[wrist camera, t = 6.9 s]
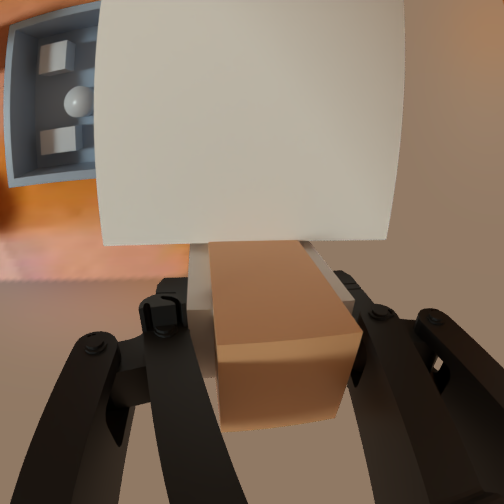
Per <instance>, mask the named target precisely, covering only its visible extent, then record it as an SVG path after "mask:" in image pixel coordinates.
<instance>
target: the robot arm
mask: <svg viewBox="0 0 504 504" xmlns="http://www.w3.org/2000/svg"><path fill="white" fill-rule="evenodd" d="M299 242H300V244H301V245H302V246H303V248H304V249H305V250H306V252H307V253H308V255H309V256H310V257H311V259H312V260H313V261H314V263H315V264H316V266H317V267H318V268H319V270H320V271H321V273H322V274H323V275H324V277H325V278H326V279H327V281H328V282H329V284H330V285H331V287H332V288H333V289H334V291H335V292H336V294H337V295H338V296H339V298H340V299H341V301H342V302H343V304H344V305H345V306H346V308H347V309H348V311H349V312H350V314H351V315H352V316H353V318H354V319H355V321H356V322H357V324H358V325H359V327H360V328H361V330H362V331H363V334H362V337H361V341H360V344H359V348H358V351H357V354H356V357H355V361H354V364H353V367H352V370H351V373H350V376H349V379H348V382H347V387H348V388H349V392H350V396H351V400H352V404H353V408H354V412H355V415H356V420H357V424H358V428H359V432H360V436H361V440H362V445H363V449H364V454H365V458H366V462H367V467H368V471H369V476H370V480H371V486H372V490H373V495H374V500H375V504H504V369H503V367H502V366H500V365H499V363H498V362H496V361H495V360H494V359H493V358H492V357H491V356H490V355H489V354H488V353H487V352H486V351H485V350H484V349H483V348H482V347H481V346H480V345H479V344H478V343H477V342H476V341H475V340H474V339H473V338H471V337H470V336H469V335H468V334H467V333H466V332H465V331H464V330H463V329H462V328H461V327H460V326H459V325H457V323H455V322H454V321H453V320H452V319H451V318H450V317H449V316H448V315H446V314H445V313H443V312H441V311H439V310H437V309H432V308H428V309H423V310H420V312H419V313H418V316H417V319H416V320H406V319H399V317H398V315H397V314H396V313H395V312H394V311H393V310H392V309H390V308H389V307H387V306H383V305H381V304H374V303H373V302H372V301H371V299H370V298H369V297H368V296H367V295H366V293H365V292H364V291H363V290H362V289H361V287H360V286H359V285H358V284H357V283H356V281H355V280H354V279H353V278H352V277H351V276H350V275H348V274H347V273H345V272H343V271H340V270H339V271H332V270H331V268H330V267H329V266H328V264H327V263H326V262H325V261H324V259H323V258H322V257H321V256H320V254H319V253H318V252H317V251H316V250H315V248H314V247H313V246H312V244H311V243H310V242H309V241H299ZM139 314H140V320H141V325H142V331H143V334H141V335H140V336H138V337H136V338H133V339H130V340H125V341H121V342H118V341H117V340H116V338H115V336H113V335H112V334H110V333H107V332H102V331H100V332H92V333H89V334H86V335H84V336H82V337H81V338H79V340H78V341H77V342H76V343H75V345H74V347H73V349H72V351H71V353H70V355H69V357H68V359H67V361H66V363H65V365H64V367H63V369H62V372H61V374H60V376H59V378H58V380H57V382H56V384H55V386H54V389H53V391H52V393H51V395H50V398H49V400H48V402H47V404H46V407H45V409H44V412H43V414H42V416H41V418H40V421H39V423H38V426H37V428H36V431H35V433H34V436H33V438H32V441H31V443H30V446H29V449H28V451H27V454H26V457H25V459H24V462H23V465H22V468H21V471H20V474H19V477H18V480H17V483H16V486H15V489H14V493H13V496H12V499H11V502H10V504H118V501H119V494H120V487H121V481H122V474H123V469H124V463H125V457H126V451H127V446H128V441H129V436H130V431H131V426H132V421H133V416H134V411H135V406H136V405H140V404H144V403H148V402H151V409H152V415H153V422H154V428H155V435H156V440H157V446H158V451H159V456H160V461H161V467H162V472H163V476H164V481H165V486H166V490H167V494H168V498H169V503H170V504H248V502H247V500H246V498H245V495H244V493H243V490H242V488H241V485H240V483H239V480H238V477H237V475H236V472H235V470H234V467H233V465H232V462H231V459H230V456H229V454H228V451H227V448H226V445H225V443H224V440H223V437H222V435H221V431H220V429H219V426H218V423H217V420H216V417H215V414H214V411H213V408H212V405H211V402H210V399H209V396H208V393H207V390H206V387H205V384H204V380H203V378H209V377H210V378H212V377H216V372H215V349H214V322H213V302H212V290H211V277H210V264H209V250H208V243H191V244H190V253H189V270H188V277H182V278H164V279H163V280H162V281H161V282H160V283H159V284H158V285H157V289H156V294H155V295H152V296H150V297H148V298H146V299H144V300H143V301H142V302H141V303H140V305H139ZM438 357H439V358H440V359H441V360H442V361H443V364H442V366H441V368H440V370H439V371H437V370H436V369H435V368H434V364H435V362H436V360H437V358H438Z"/></svg>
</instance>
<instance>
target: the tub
mask: <svg viewBox="0 0 504 504" xmlns="http://www.w3.org/2000/svg"><path fill="white" fill-rule="evenodd" d="M100 6H101V1H96V2H91V3H86V4H81V5H77V6H72V7H68V8H64V9H60V10H56V11H53V12H49V13H46V14H42V15H39V16H36V17H32V18H29V19H26V20H23V21H20V22H17V23H15V24H12V25H10V27H9V34H8V42H7V51H6V62H5V76H4V141H5V156H6V167H7V177H8V185H9V188H12V187H19V186H27V185H34V184H43V183H52V182H61V181H71V180H81V179H93V178H96V167H95V147H94V76H95V57H96V43H97V32H98V23H99V14H100Z"/></svg>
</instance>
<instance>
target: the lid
mask: <svg viewBox="0 0 504 504" xmlns="http://www.w3.org/2000/svg"><path fill="white" fill-rule="evenodd" d="M404 84H405V14H404V0H101V6H100V14H99V23H98V32H97V43H96V57H95V76H94V147H95V167H96V182H97V194H98V204H99V214H100V222H101V230H102V238H103V245H104V246H120V245H154V244H191V243H208V250H209V264H210V277H211V290H212V302H213V322H214V349H215V372H216V377H215V379H216V389H217V398H218V409H219V418H220V427H221V432H236V431H248V430H258V429H268V428H276V427H283V426H291V425H298V424H304V423H310V422H316V421H321V420H327V419H332V418H335V416H336V414H337V411H338V408H339V405H340V403H341V400H342V397H343V394H344V391H345V388H346V385H347V382H348V379H349V376H350V373H351V370H352V367H353V364H354V361H355V357H356V354H357V351H358V348H359V344H360V341H361V337H362V334H363V331H362V330H361V328H360V327H359V325H358V324H357V322H356V321H355V319H354V318H353V316H352V315H351V314H350V312H349V311H348V309H347V308H346V306H345V305H344V304H343V302H342V301H341V299H340V298H339V296H338V295H337V294H336V292H335V291H334V289H333V288H332V287H331V285H330V284H329V282H328V281H327V279H326V278H325V277H324V275H323V274H322V273H321V271H320V270H319V268H318V267H317V266H316V264H315V263H314V261H313V260H312V259H311V257H310V256H309V255H308V253H307V252H306V250H305V249H304V248H303V246H302V245H301V244H300V242H299V241H331V240H332V241H336V240H386V237H387V232H388V227H389V221H390V215H391V209H392V203H393V197H394V190H395V183H396V176H397V168H398V159H399V151H400V142H401V131H402V119H403V104H404Z"/></svg>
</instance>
